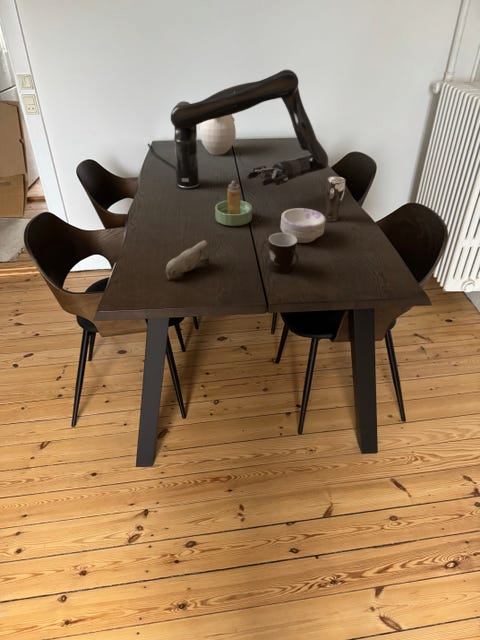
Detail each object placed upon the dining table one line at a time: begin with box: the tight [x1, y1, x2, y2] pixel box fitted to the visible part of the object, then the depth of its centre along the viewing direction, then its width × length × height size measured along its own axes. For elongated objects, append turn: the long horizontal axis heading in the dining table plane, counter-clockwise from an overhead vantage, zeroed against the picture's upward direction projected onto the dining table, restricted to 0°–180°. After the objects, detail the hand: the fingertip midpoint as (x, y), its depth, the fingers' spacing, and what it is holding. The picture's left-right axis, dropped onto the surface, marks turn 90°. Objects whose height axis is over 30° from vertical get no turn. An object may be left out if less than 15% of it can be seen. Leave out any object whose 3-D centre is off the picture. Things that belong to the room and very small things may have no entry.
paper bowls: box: [280, 207, 327, 244], centre depth 149 cm, size 15×15×8 cm
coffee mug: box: [268, 232, 299, 274], centre depth 131 cm, size 12×9×10 cm
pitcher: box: [199, 114, 237, 156], centre depth 220 cm, size 19×18×25 cm
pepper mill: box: [226, 180, 242, 214], centre depth 158 cm, size 5×5×14 cm
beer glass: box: [322, 175, 346, 223], centre depth 160 cm, size 7×7×15 cm
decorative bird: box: [165, 240, 210, 281], centre depth 131 cm, size 5×16×8 cm, turn 137°
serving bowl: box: [214, 199, 253, 227], centre depth 161 cm, size 14×14×5 cm
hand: (255, 179), depth 160 cm, fingers open, 8 cm apart
